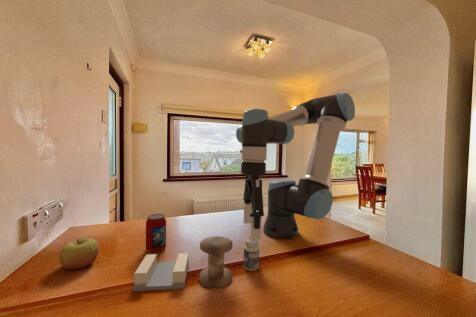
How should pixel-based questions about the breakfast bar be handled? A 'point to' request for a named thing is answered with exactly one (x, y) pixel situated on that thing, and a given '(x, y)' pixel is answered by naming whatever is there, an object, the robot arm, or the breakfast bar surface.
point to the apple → (79, 253)
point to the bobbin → (215, 262)
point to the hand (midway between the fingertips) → (251, 230)
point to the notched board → (161, 273)
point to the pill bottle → (251, 254)
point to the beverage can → (155, 233)
